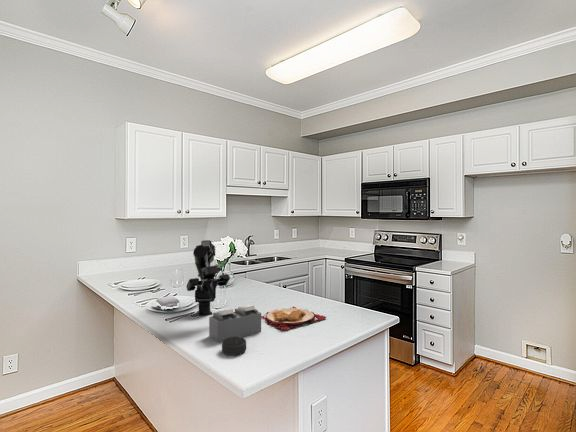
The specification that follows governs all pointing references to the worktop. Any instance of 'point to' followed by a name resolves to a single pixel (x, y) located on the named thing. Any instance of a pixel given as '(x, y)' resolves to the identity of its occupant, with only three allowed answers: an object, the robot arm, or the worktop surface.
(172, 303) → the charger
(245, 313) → the switch box
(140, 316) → the worktop surface
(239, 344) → the smart speaker
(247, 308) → the block
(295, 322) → the plate with food
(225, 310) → the rocker
